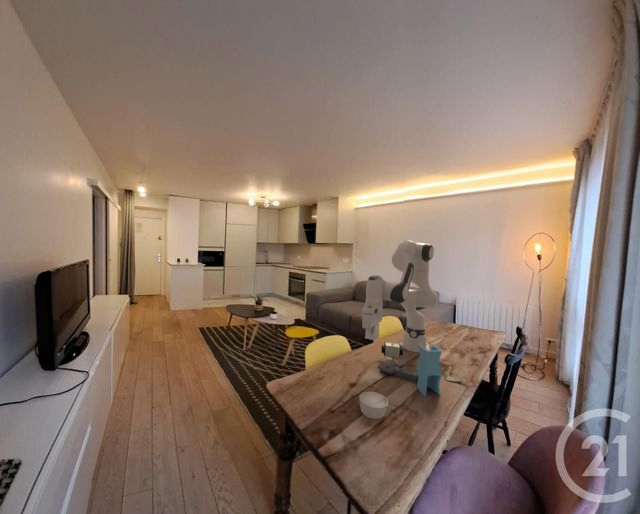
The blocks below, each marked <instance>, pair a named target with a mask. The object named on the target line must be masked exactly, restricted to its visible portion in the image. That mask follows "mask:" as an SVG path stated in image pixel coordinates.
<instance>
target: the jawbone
mask: <svg viewBox="0 0 640 514" xmlns="http://www.w3.org/2000/svg"><path fill="white" fill-rule="evenodd" d="M452 372H453V371H452V366H448V369H447V370H446V371H445V372H444V374H443V375H444V380H445V381H447V382H454V383H458V384H460V385H461V384H462V382H463V383H466V384H467V383H468V381H467V380H465V379H463V378H456V377H454V376H452Z"/></svg>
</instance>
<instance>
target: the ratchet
mask: <svg viewBox="0 0 640 514" xmlns="http://www.w3.org/2000/svg"><path fill="white" fill-rule="evenodd" d="M392 359H393V358H391V357H387V356H386V359H385V362H382V363H381V364H380V373H381V374H382V375H385V376H388V377H398V378H401V379H405V380H409V381H412V382H416V383H418V373H417V371H412V370H407V369H404V368H400V367H398V366H397V365H396V364H392Z"/></svg>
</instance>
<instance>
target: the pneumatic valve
mask: <svg viewBox="0 0 640 514" xmlns="http://www.w3.org/2000/svg"><path fill="white" fill-rule="evenodd" d="M400 344H401V343H394V342H383V344H381V350H380V352H381V354H383V357H386V358H387V357H391V358H393V359H392V364H395V365H396V364H397V359H401V356H404V348H403V347H402V346H400Z"/></svg>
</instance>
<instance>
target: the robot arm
mask: <svg viewBox="0 0 640 514" xmlns="http://www.w3.org/2000/svg"><path fill="white" fill-rule="evenodd" d="M434 256H435V249H434V246H433V245H432V244H430V243H424V242H414V241H412V240H410V239H406V240H404V241H402V242H400V244H399V245H397V248H396V249H395V251H394V253H393V255H392V257H391V263H392V265H393V267H394V268H395V269H396V270H398V271H400V272H402V275H401V278H400V281H399V282H389V281H386V280H385V279H384V278H383V276H381V275H371V276H369V277H368V278H367V281H366V285H365V286H366V287H365V294H366V297H365V302H364V306H363V307H362V308H361V313H362V315H361V316H362V317H361V318H362V319H361V320H362V321H361V322H362V323H361V327H362V329H365V330H366V329H367V331H368V335H369V336H371V335H372V327H374V326H375V325H376V324H380V323H381V322H382V320H383V305H384V304H383V302H384V300H385V301H388V302H389V301H390V302H393V303H396V304H399V305H401V306H402V307H403V308H404V310H405V312H406V326H405V332H404V333H403V334H402V335H403V336H402V341H401V342H400V343H399V344H400V346H401V347H403V349H404V350H407V351H409V352H414V353H420V352H419V347H418V345H420V346H422V347H423V348H425V349H426V350H430V344H429V343H428V342H427V340H428V339H427V336H426V316H425V315H424V313H421V312H420V311H419V310H417V309H416V308H417V307H418V308H427V309H431V308H436V307H437V306H438V305H439V302H440V298H439V295H438V294H437V293H436V292H435V291H434V290H433V289H432V287H431V284H430V282H429V271H430V270H429V269H430V262H429V261H431V260H432V259H433V257H434ZM411 283H412V284H413V285H415V286H417V287H418V288H419V289H411V288H410V286H411Z"/></svg>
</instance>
